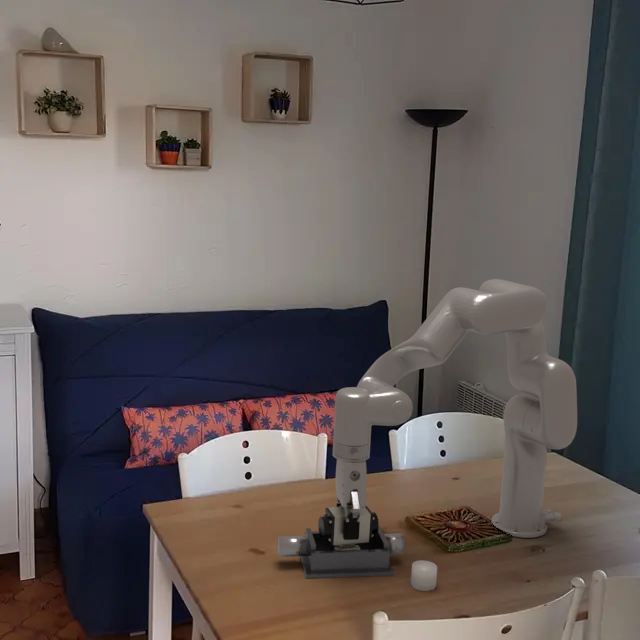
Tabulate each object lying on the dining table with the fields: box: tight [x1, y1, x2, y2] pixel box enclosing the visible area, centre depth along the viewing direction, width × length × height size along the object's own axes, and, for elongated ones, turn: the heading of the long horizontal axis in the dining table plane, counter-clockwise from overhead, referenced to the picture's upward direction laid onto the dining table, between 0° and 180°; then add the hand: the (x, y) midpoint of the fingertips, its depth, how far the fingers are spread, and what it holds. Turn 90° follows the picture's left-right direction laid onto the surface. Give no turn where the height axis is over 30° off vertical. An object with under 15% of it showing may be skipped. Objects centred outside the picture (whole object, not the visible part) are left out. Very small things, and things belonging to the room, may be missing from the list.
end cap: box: [410, 559, 438, 592], centre depth 166 cm, size 5×5×4 cm
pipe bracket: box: [277, 526, 406, 579], centre depth 174 cm, size 26×12×6 cm, turn 99°
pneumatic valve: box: [317, 504, 380, 551], centre depth 173 cm, size 6×12×12 cm, turn 107°
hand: (347, 529), depth 173 cm, fingers open, 7 cm apart
